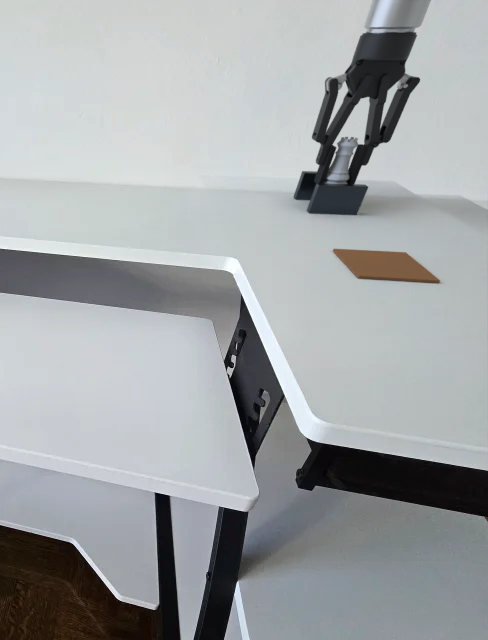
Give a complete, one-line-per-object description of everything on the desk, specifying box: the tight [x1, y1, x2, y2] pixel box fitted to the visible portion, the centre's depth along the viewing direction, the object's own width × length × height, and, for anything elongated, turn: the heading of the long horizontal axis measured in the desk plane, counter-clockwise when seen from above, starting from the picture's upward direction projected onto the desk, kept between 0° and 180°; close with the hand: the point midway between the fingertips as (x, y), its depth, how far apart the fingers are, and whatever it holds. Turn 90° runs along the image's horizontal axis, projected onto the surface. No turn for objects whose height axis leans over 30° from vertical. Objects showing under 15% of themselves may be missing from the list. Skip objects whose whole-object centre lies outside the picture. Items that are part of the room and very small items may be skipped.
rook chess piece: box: [324, 136, 359, 184], centre depth 89 cm, size 4×4×8 cm
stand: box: [293, 170, 369, 216], centre depth 93 cm, size 8×10×5 cm
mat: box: [332, 248, 441, 284], centre depth 72 cm, size 10×10×1 cm
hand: (333, 183), depth 91 cm, fingers closed on rook chess piece, 4 cm apart
